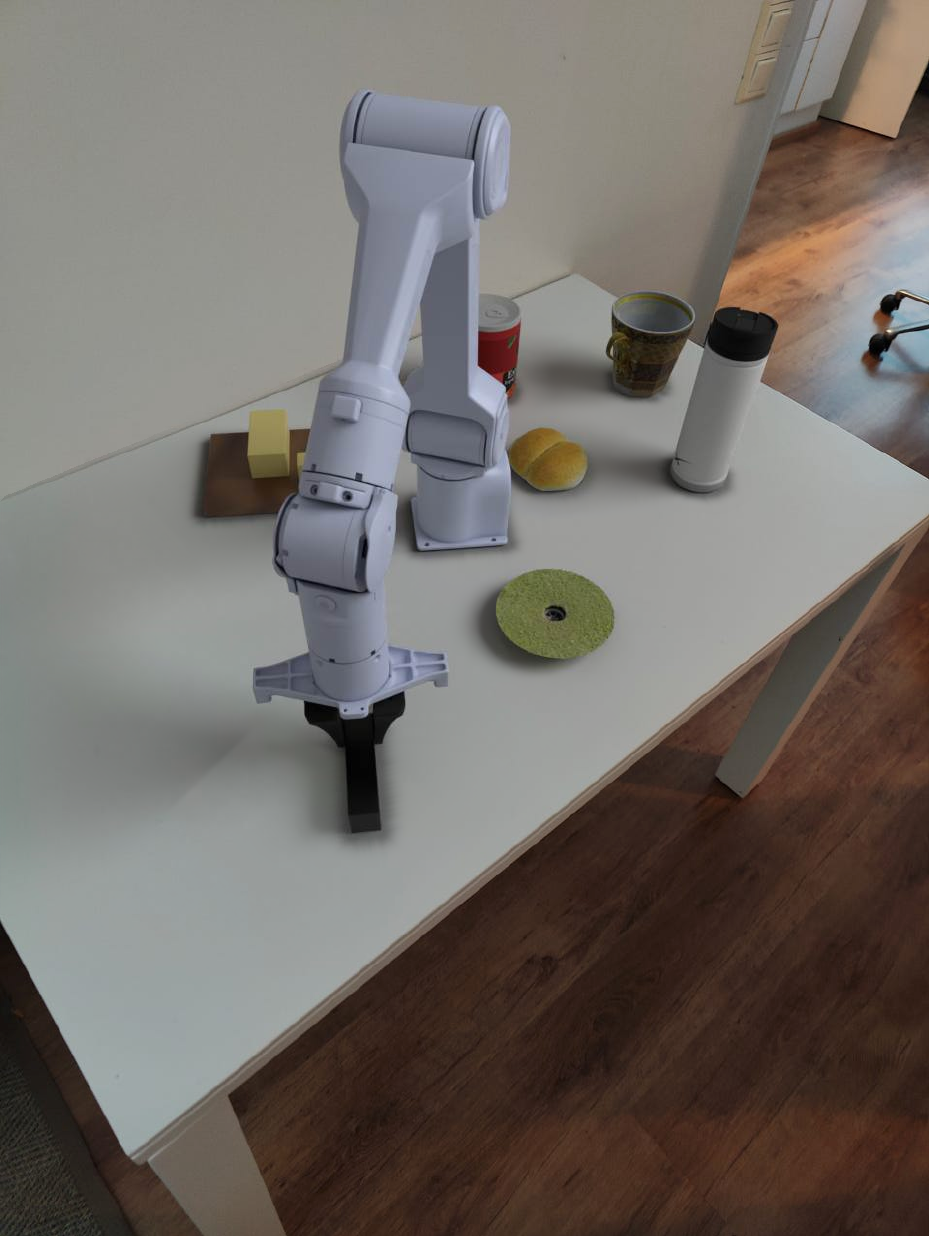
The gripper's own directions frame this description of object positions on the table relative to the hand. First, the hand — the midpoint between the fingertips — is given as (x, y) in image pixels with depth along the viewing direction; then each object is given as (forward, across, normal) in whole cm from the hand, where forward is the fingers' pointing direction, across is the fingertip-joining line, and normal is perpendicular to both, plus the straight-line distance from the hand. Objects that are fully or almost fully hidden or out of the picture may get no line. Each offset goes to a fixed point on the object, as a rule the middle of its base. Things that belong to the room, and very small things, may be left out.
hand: (359, 736), depth 68 cm
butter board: (+2, -8, +36) cm, 37 cm away
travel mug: (+2, +40, +32) cm, 51 cm away
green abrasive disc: (+2, +19, +12) cm, 22 cm away
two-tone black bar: (+1, 0, +2) cm, 2 cm away
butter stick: (0, -8, +38) cm, 39 cm away
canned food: (+2, +18, +50) cm, 54 cm away
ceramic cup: (+2, +37, +50) cm, 62 cm away
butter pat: (0, -3, +33) cm, 34 cm away
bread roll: (+2, +23, +34) cm, 41 cm away
